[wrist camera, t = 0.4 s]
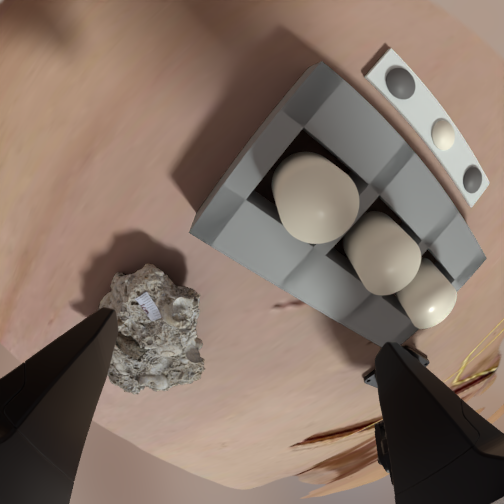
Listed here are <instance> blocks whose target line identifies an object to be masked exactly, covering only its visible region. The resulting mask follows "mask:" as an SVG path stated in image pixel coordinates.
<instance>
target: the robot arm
mask: <svg viewBox="0 0 504 504" xmlns="http://www.w3.org/2000/svg"><path fill="white" fill-rule="evenodd" d="M117 336H118V322H117V315H116V311H115V310H114V309H112V308H107V307H102V308H100V309H99V310H97V311H96V312H94V313H93V314H92V315H90V316H89V317H87V318H86V319H84V320H83V321H81V322H80V323H78V324H77V325H76V326H74V327H73V328H71V329H70V330H68V331H67V332H65V333H64V334H63V335H61V336H60V337H58V338H57V339H55V340H54V341H53V342H51V343H50V344H48V345H47V346H46V347H44V348H43V349H41V350H40V351H39V352H37V353H36V354H35V355H33V356H32V357H30V358H29V359H28V360H26V361H25V363H22V364H21V365H20V366H18V367H17V368H15V369H14V370H13V371H11V372H10V373H8V374H7V375H5V376H4V377H2V378H1V379H0V504H69V502H70V498H71V493H72V489H73V484H74V482H73V481H74V480H75V476H76V472H77V468H78V465H79V461H80V458H81V454H82V450H83V447H84V443H85V440H86V437H87V434H88V431H89V427H90V424H91V421H92V418H93V415H94V412H95V409H96V406H97V403H98V400H99V397H100V394H101V392H102V389H103V386H104V383H105V381H106V378H107V375H108V371H109V367H110V363H111V359H112V355H113V351H114V347H115V343H116V340H117ZM428 364H429V360H428V359H427V358H425V357H424V356H422V355H420V354H419V353H417V352H416V351H414V350H413V349H411V348H410V347H408V346H405V347H402V346H401V345H399V344H398V343H397V342H386V343H385V344H384V345H383V347H382V348H381V350H380V351H379V353H378V354H377V356H376V358H375V369H376V370H374V371H373V372H372V373H370V374H369V375H368V376H366V377H365V378H364V382H365V383H366V384H369V385H371V386H374V387H376V388H378V394H379V401H380V406H381V411H382V416H383V422H381V423H377V424H375V438H376V445H377V452H378V463H379V464H380V465H382V466H383V467H384V469H385V470H386V472H387V473H390V477H391V482H392V484H393V485H394V492H395V502H396V504H504V433H502V432H501V431H500V430H498V429H497V428H496V427H494V426H493V425H492V424H491V423H489V422H488V421H487V420H485V419H484V418H483V417H482V416H480V415H479V414H478V413H477V412H475V411H474V410H473V409H472V408H471V407H470V406H469V405H467V404H466V403H465V402H464V401H463V400H462V399H460V397H459V396H458V395H456V394H455V393H454V392H453V391H452V390H451V389H450V388H449V387H447V386H446V385H445V384H444V383H443V382H442V381H441V380H440V379H438V378H437V377H436V376H435V375H434V374H433V373H432V372H431V371H429V370H428V369H427V368H426V366H427V365H428Z"/></svg>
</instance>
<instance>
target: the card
mask: <svg viewBox="0 0 504 504" xmlns="http://www.w3.org/2000/svg"><path fill="white" fill-rule="evenodd" d="M364 77H365V78H366V79H367V80H368V81H369V82H370V83H371V84H372V85H373V86H374V87H375V88H376V89H377V90H378V91H379V92H380V93H381V94H382V95H383V96H384V97H385V98H386V99H387V100H388V101H389V102H390V103H391V104H392V105H393V106H394V108H395V109H396V110H397V111H398V112H399V113H400V114H401V115H402V116H403V117H404V119H405V120H406V121H407V122H408V123H409V124H410V125H411V127H412V128H413V129H414V130H415V131H416V133H417V134H418V135H419V136H420V137H421V139H422V140H423V141H424V142H425V144H426V145H427V146H428V147H429V149H430V150H431V151H432V153H433V154H434V155H435V157H436V158H437V159H438V161H439V162H440V163H441V165H442V166H443V168H444V169H445V170H446V172H447V173H448V175H449V176H450V177H451V179H452V180H453V182H454V183H455V185H456V186H457V188H458V189H459V191H460V193H461V194H462V196H463V197H464V199H465V200H466V202H467V204H468V205H469V206H470V207H471V208H472V206H473V205H474V204H475V203H476V201H477V200H478V199H479V197H480V196H481V195H482V193H483V192H484V191H485V189H486V188H487V186H488V185H489V184H490V182H489V181H488V179H487V177H486V175H485V173H484V171H483V169H482V168H481V166H480V164H479V162H478V161H477V159H476V157H475V155H474V154H473V152H472V150H471V149H470V147H469V146H468V144H467V142H466V141H465V139H464V138H463V136H462V135H461V133H460V132H459V130H458V129H457V127H456V126H455V124H454V123H453V121H452V120H451V118H450V117H449V116H448V114H447V113H446V111H445V110H444V109H443V107H442V106H441V105H440V103H439V102H438V101H437V100H436V98H435V97H434V96H433V94H432V93H431V92H430V91H429V89H428V88H427V87H426V86H425V85H424V83H423V82H422V81H421V80H420V79H419V78H418V76H417V75H416V74H415V73H414V72H413V71H412V70H411V68H410V67H409V66H408V65H407V64H406V63H405V62H404V61H403V60H402V59H401V58H400V57H399V56H398V55H397V54H396V53H395V52H394V51H393V50H392V49H391V48H390V49H388V50H387V51H386V52H385V54H384V55H383V56H382V57H381V58H380V59H379V60H378V61H377V63H376V64H375V65H374V66H373V67H372V68H371V70H370V71H369V72H368V73H367V74H366V75H365V76H364Z"/></svg>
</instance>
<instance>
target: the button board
mask: <svg viewBox="0 0 504 504" xmlns="http://www.w3.org/2000/svg"><path fill="white" fill-rule="evenodd" d="M301 130H304V131H305V132H306V133H307V134H308V135H310V136H311V137H312V138H313V139H315V140H316V141H317V142H318V143H319V144H321V145H322V146H323V147H324V148H325V149H327V150H328V151H329V152H330V153H331V154H332V155H334V156H335V157H336V158H337V159H338V160H339V161H341V162H342V163H343V164H344V165H345V166H346V167H347V168H348V169H349V170H351V171H352V172H351V173H350V174H349V175H348V176H349V177H350V178H351V179H352V181H353V182H354V184H355V185H356V187H357V190H358V194H359V210H358V214H357V217H356V219H355V221H354V223H353V224H352V226H353V225H354V224H355V223H356V221H357V220H358V219H359V218H360V217H361V216H362V215H363V214H364V212H365V211H366V210H367V209H368V208H369V207H370V206H371V205H372V203H373V202H374V201H375V200H376V199H377V198H378V197H379V198H380V199H381V200H382V201H383V202H384V203H385V204H386V205H387V206H388V207H389V208H390V209H391V210H392V211H393V212H394V213H395V214H396V215H397V216H398V217H399V218H400V219H401V220H402V221H403V222H402V224H401V225H400V227H401V228H402V229H403V230H404V231H405V232H406V233H407V234H408V235H409V236H410V237H411V238H412V239H413V240H414V241H415V242H416V243H417V245H418V246H419V248H420V251H421V256H422V255H423V254H424V253H425V251H426V250H427V249H428V250H429V252H430V253H431V254H432V255H433V256H434V257H435V259H436V260H437V262H436V263H435V264H434V265H435V266H436V267H437V268H438V270H439V271H440V272H441V273H442V274H443V275H444V276H445V277H446V279H447V280H448V281H449V282H450V283H451V284H452V286H453V287H454V288H455V289H456V292H457V291H458V290H459V289H460V288H461V287H462V286H463V285H464V284H465V283H466V282H467V280H468V279H469V278H470V277H471V276H472V275H473V274H474V273H475V271H476V270H477V269H478V268H479V267H480V266H481V264H482V263H483V262H484V261H485V260H486V256H485V254H484V253H483V251H482V249H481V247H480V245H479V244H478V242H477V240H476V238H475V237H474V235H473V233H472V232H471V230H470V228H469V227H468V225H467V224H466V222H465V220H464V219H463V217H462V216H461V214H460V213H459V211H458V210H457V208H456V207H455V205H454V204H453V202H452V201H451V199H450V198H449V196H448V195H447V193H446V192H445V191H444V189H443V188H442V187H441V185H440V184H439V182H438V181H437V180H436V178H435V177H434V176H433V174H432V173H431V172H430V171H429V169H428V168H427V167H426V165H425V164H424V163H423V162H422V160H421V159H420V158H419V157H418V156H417V154H416V153H415V152H414V151H413V150H412V148H411V147H410V146H409V145H408V144H407V143H406V141H405V140H404V139H403V138H402V137H401V136H400V135H399V134H398V132H397V131H396V130H395V129H394V128H393V127H392V126H391V125H390V124H389V123H388V122H387V121H386V120H385V119H384V117H383V116H382V115H381V114H380V113H379V112H378V111H377V110H376V109H375V108H374V107H373V106H372V105H371V104H370V103H369V102H368V101H367V100H365V99H364V98H363V97H362V96H361V95H360V94H359V93H358V92H357V91H356V90H355V89H354V88H353V87H352V86H350V85H349V84H348V83H347V82H346V81H345V80H344V79H343V78H341V77H340V76H339V75H338V74H337V73H336V72H334V71H333V70H332V69H331V68H330V67H328V66H327V65H326V64H325V63H323V62H322V61H321V62H319V63H317V64H315V65H312V66H310V67H309V68H308V69H307V70H306V71H305V72H304V74H303V75H302V76H301V77H300V78H299V79H298V81H297V82H296V83H295V84H294V85H293V87H292V88H291V89H290V90H289V91H288V92H287V94H286V95H285V96H284V97H283V99H282V100H281V101H280V102H279V103H278V105H277V106H276V107H275V108H274V110H273V111H272V112H271V113H270V115H269V116H268V117H267V118H266V120H265V121H264V122H263V123H262V125H261V126H260V127H259V128H258V130H257V131H256V132H255V134H254V135H253V136H252V137H251V139H250V140H249V141H248V143H247V144H246V145H245V147H244V148H243V149H242V151H241V152H240V153H239V155H238V156H237V157H236V159H235V160H234V161H233V163H232V164H231V165H230V167H229V168H228V169H227V171H226V172H225V173H224V175H223V176H222V178H221V179H220V180H219V182H218V183H217V185H216V186H215V187H214V189H213V190H212V192H211V193H210V194H209V196H208V197H207V199H206V200H205V201H204V203H203V204H202V206H201V207H200V209H199V210H198V212H197V213H196V215H195V218H194V221H193V223H192V226H191V229H190V231H189V233H190V234H192V235H193V236H195V237H197V238H198V239H200V240H201V241H203V242H205V243H206V244H208V245H210V246H211V247H213V248H215V249H216V250H218V251H219V252H221V253H223V254H224V255H226V256H228V257H229V258H231V259H233V260H234V261H236V262H238V263H239V264H241V265H243V266H244V267H246V268H247V269H249V270H251V271H252V272H254V273H256V274H257V275H259V276H261V277H262V278H264V279H266V280H267V281H269V282H271V283H272V284H274V285H276V286H277V287H279V288H281V289H282V290H284V291H286V292H288V293H289V294H291V295H293V296H294V297H296V298H298V299H299V300H301V301H303V302H304V303H306V304H308V305H309V306H311V307H313V308H315V309H316V310H318V311H320V312H321V313H323V314H325V315H327V316H328V317H330V318H332V319H333V320H335V321H337V322H338V323H340V324H342V325H344V326H345V327H347V328H349V329H351V330H352V331H354V332H356V333H357V334H359V335H361V336H363V337H364V338H366V339H368V340H370V341H371V342H373V343H375V344H377V345H378V346H380V347H383V345H384V344H385V343H386V342H397V343H398V344H399V345H401V344H402V343H404V342H405V341H406V340H407V339H408V338H409V337H410V336H412V335H413V334H414V333H415V332H416V331H417V330H418V329H419V328H417V327H415V326H414V325H413V323H412V321H411V320H410V318H409V316H408V315H407V313H406V311H405V310H404V308H403V307H402V305H401V303H400V302H399V300H398V299H397V298H396V297H395V296H394V295H393V294H390V295H376V294H373V293H371V292H369V291H368V290H367V289H366V288H365V286H364V285H363V283H362V281H361V279H360V278H359V276H358V274H357V272H356V270H355V269H354V267H353V265H352V264H351V262H350V260H349V259H347V258H346V257H345V256H343V255H342V254H341V253H339V252H338V251H337V250H336V249H334V248H333V247H334V246H335V245H336V243H337V242H338V241H339V240H340V239H341V238H342V237H343V236H344V235H345V234H346V233H347V231H348V230H349V229H350V228H351V227H352V226H351V227H350V228H349V229H348V230H347V231H346V232H345V233H344V234H343V235H342V236H340V237H339V238H337V239H335V240H333V241H330V242H327V243H322V244H311V243H306V242H302V241H300V240H298V239H296V238H295V237H293V236H292V235H291V234H290V233H289V232H288V231H287V230H286V229H285V227H284V226H283V224H282V222H281V219H280V216H279V213H278V209H277V206H276V205H274V204H273V203H271V202H270V201H269V200H267V199H266V198H264V197H263V196H261V195H260V194H259V193H257V192H256V191H254V189H255V187H256V186H257V185H258V184H259V182H260V181H261V180H262V178H263V177H264V176H265V175H266V173H267V172H268V171H269V170H270V168H271V167H272V166H273V165H274V163H275V162H276V161H277V160H278V158H279V157H280V156H281V155H282V153H283V152H284V151H285V150H286V148H287V147H288V146H289V145H290V143H291V142H292V141H293V140H294V139H295V137H296V136H297V135H298V134H299V132H300V131H301Z"/></svg>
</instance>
